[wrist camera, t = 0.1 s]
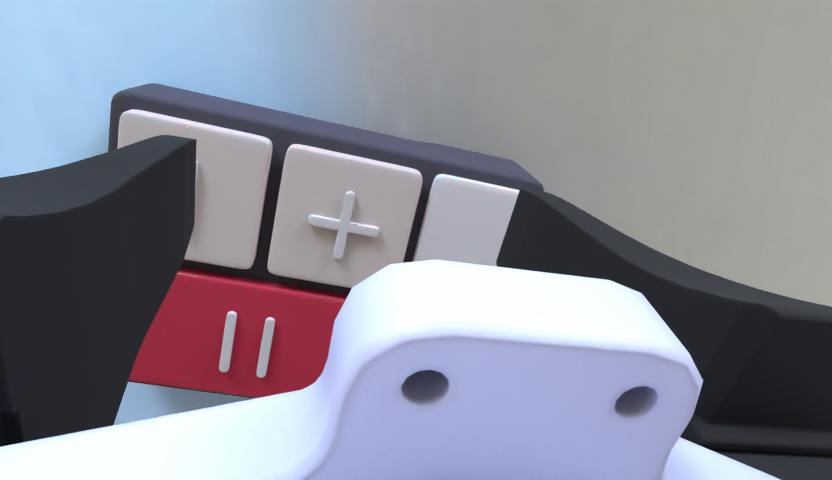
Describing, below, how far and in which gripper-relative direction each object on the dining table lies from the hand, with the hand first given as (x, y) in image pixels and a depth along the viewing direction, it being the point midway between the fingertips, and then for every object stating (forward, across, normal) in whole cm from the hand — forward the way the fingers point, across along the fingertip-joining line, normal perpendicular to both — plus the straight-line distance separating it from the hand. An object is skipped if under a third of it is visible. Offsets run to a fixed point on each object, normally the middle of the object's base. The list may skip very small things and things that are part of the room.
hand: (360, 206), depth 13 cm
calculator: (+10, 0, +7) cm, 12 cm away
